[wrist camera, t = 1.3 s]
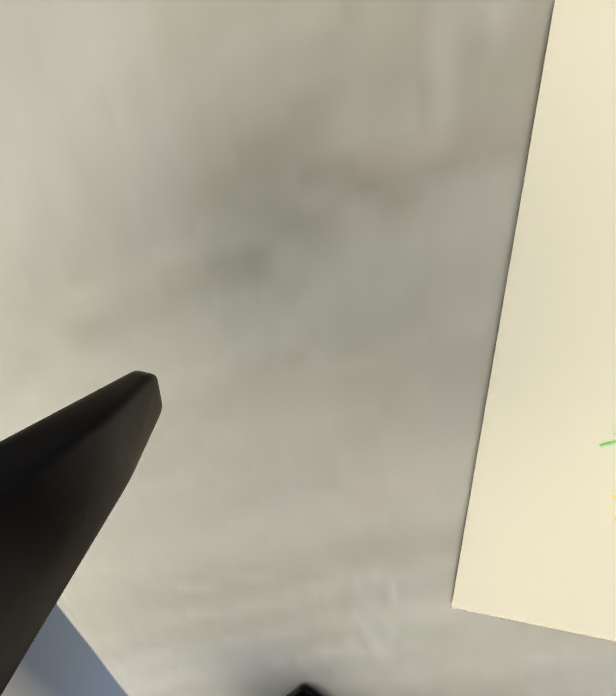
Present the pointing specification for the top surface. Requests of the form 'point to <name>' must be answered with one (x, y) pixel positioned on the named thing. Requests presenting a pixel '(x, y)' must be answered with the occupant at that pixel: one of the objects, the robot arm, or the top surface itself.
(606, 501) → the printed paper
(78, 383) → the top surface
